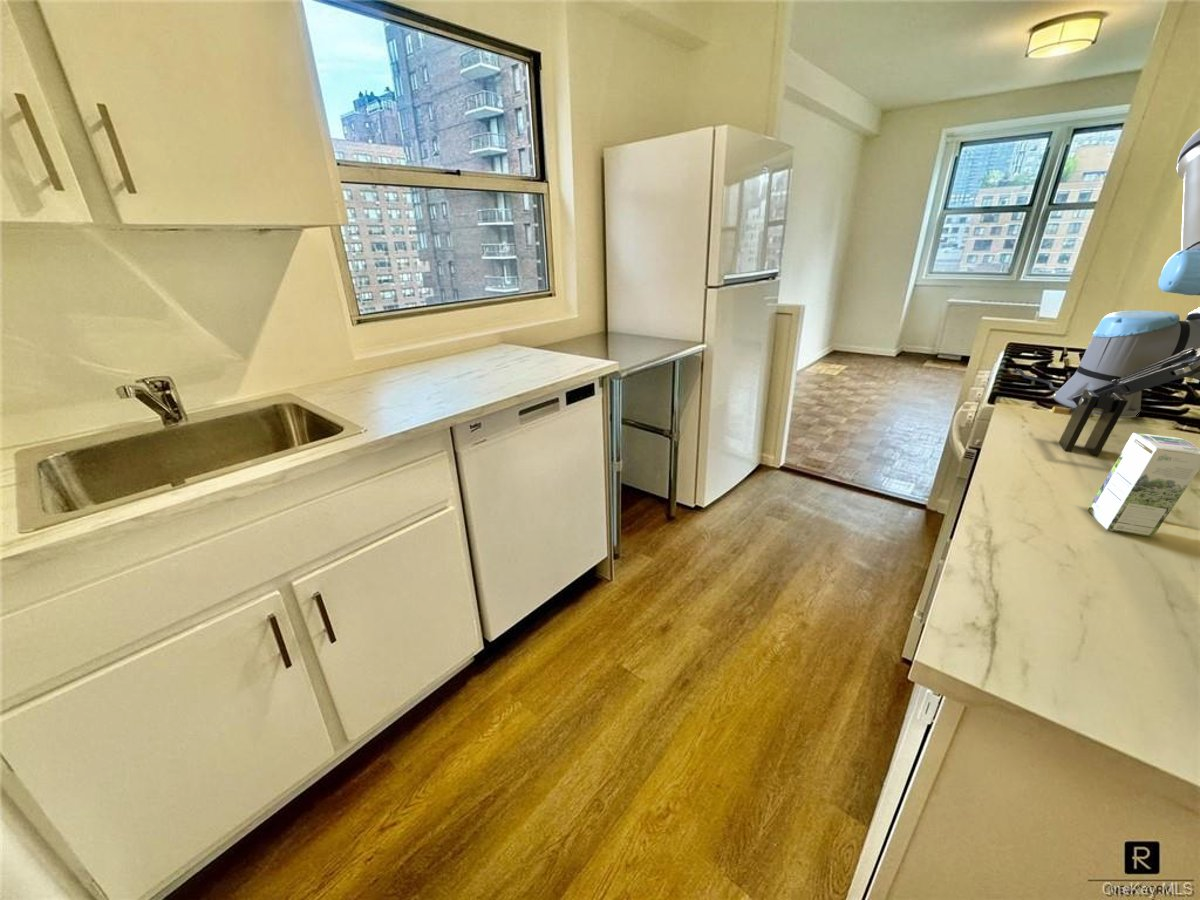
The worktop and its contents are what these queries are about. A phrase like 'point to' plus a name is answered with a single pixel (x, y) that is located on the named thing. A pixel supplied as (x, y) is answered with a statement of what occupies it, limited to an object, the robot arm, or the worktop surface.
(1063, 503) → the worktop surface
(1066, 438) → the bracket
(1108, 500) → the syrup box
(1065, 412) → the tap lever
